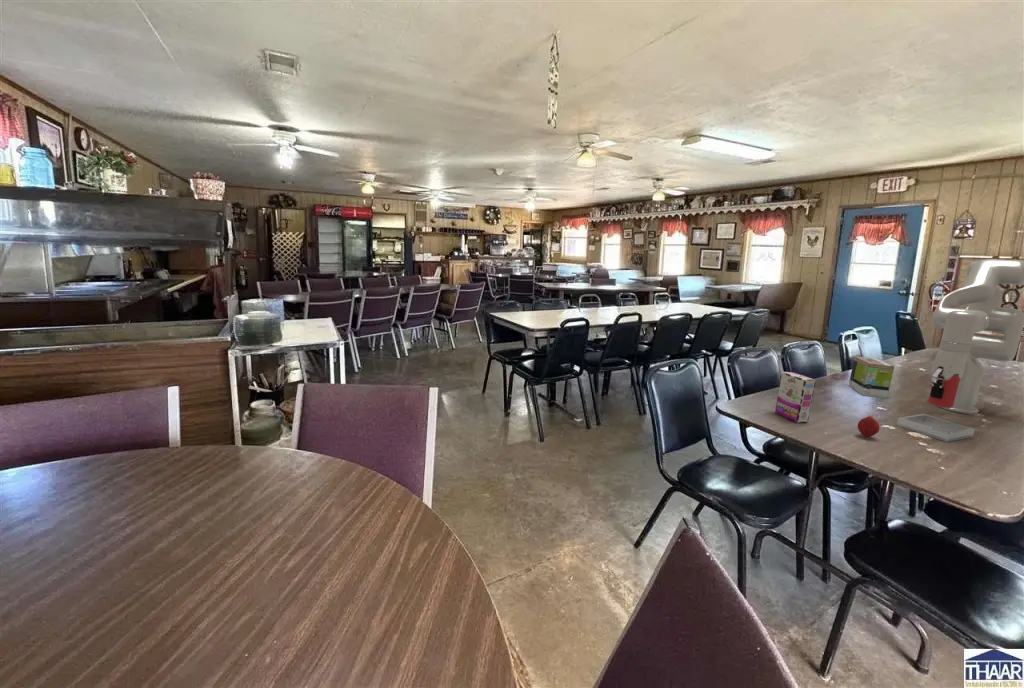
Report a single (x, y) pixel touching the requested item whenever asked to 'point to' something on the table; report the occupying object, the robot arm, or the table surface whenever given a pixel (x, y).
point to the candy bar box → (795, 396)
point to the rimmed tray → (935, 427)
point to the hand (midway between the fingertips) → (942, 396)
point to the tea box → (871, 376)
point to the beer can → (947, 393)
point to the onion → (868, 426)
